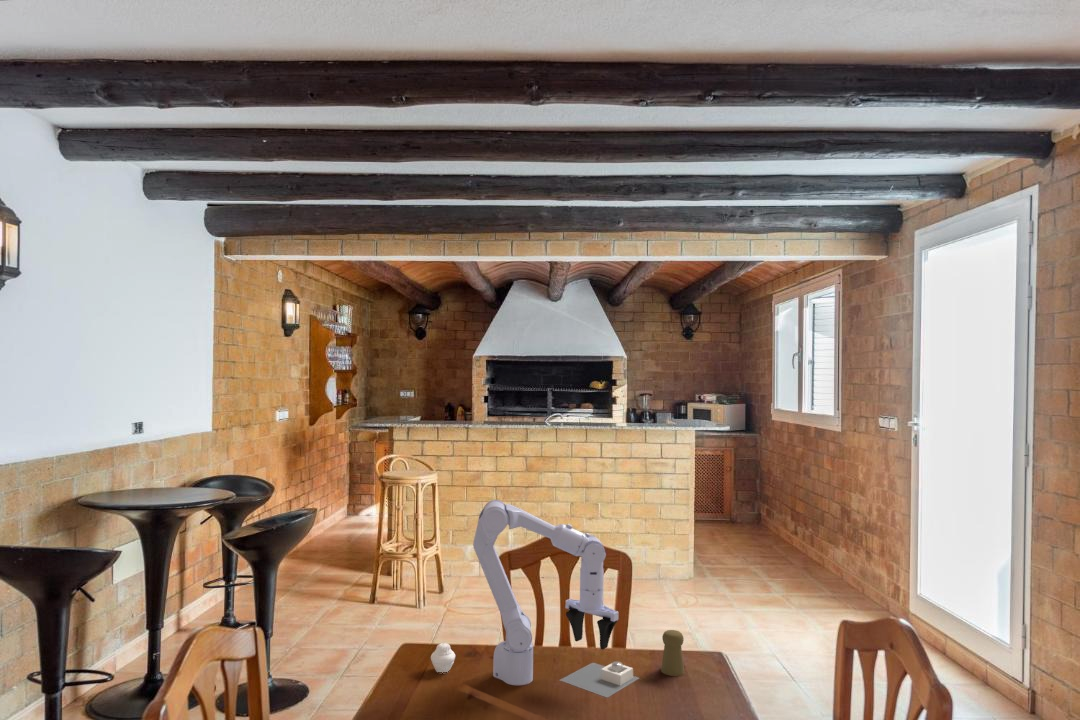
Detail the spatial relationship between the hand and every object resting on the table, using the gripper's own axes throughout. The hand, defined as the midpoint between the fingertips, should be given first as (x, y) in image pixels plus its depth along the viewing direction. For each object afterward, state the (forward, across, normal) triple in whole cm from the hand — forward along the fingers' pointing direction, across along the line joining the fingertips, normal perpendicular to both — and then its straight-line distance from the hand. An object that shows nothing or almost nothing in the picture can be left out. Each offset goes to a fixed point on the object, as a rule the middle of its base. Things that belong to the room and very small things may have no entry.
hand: (591, 644), depth 172 cm
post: (+8, -5, -4) cm, 10 cm away
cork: (+10, -13, -17) cm, 23 cm away
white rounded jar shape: (+10, +32, +19) cm, 38 cm away
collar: (+8, -5, -4) cm, 10 cm away
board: (+9, -2, -1) cm, 10 cm away
